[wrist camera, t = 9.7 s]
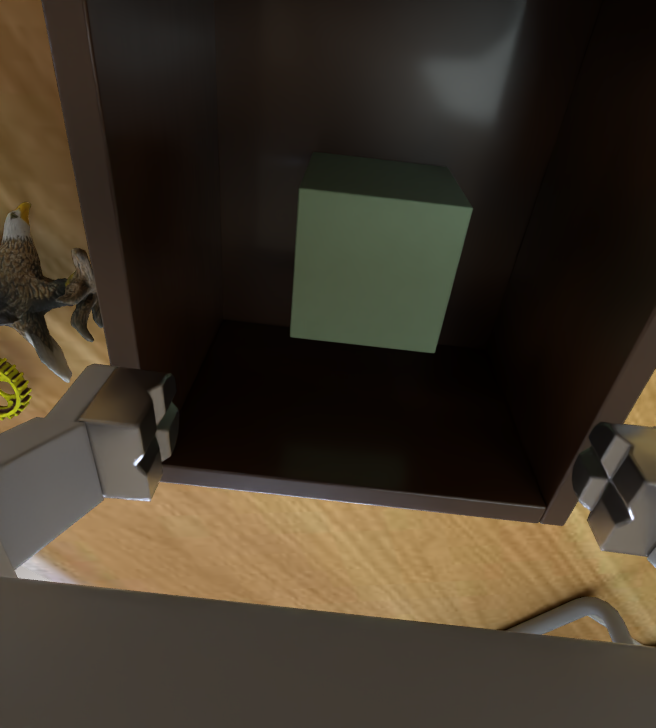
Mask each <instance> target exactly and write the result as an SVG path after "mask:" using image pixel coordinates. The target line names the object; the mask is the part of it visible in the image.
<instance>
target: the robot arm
mask: <svg viewBox="0 0 656 728" xmlns="http://www.w3.org/2000/svg"><path fill="white" fill-rule="evenodd" d="M176 392H177V390H176V383H175V377H174V376H173V375H172V374H171V373H164V372H157V371H149V370H142V369H134V368H127V367H117V366H109V365H101V364H92V365H89V366H87V367H86V368H85V369H84V371H83V372H82V373H81V374H80V376H79V377H78V378H77V379H76V380H75V382H74V383H73V384H72V385H71V387H70V388H69V389H68V390H67V391H66V393H65V394H64V395H63V396H62V398H61V399H60V400H59V401H58V402H57V404H56V405H55V406H54V407H53V409H52V410H51V411H50V412H49V413H48V415H47V416H46V417H45V418H40V417H36V418H33V419H31V420H29V421H27V422H25V423H22V424H20V425H18V426H16V427H14V428H12V429H9V430H7V431H5V432H3V433H1V434H0V728H656V647H652V646H643V645H633V644H624V643H614V642H605V641H595V640H586V639H577V638H567V637H558V636H548V635H539V634H529V633H520V632H511V631H501V630H492V629H483V628H473V627H464V626H455V625H446V624H437V623H427V622H418V621H409V620H400V619H391V618H381V617H372V616H363V615H354V614H345V613H335V612H326V611H317V610H308V609H298V608H289V607H280V606H271V605H261V604H252V603H243V602H233V601H224V600H215V599H206V598H196V597H187V596H178V595H168V594H159V593H150V592H141V591H131V590H122V589H113V588H103V587H94V586H85V585H76V584H66V583H57V582H48V581H38V580H29V579H19V578H18V577H17V575H16V573H15V571H14V570H15V569H17V568H18V567H19V566H21V565H22V564H23V563H24V562H26V561H27V560H28V559H29V558H31V557H32V556H33V555H35V554H36V553H37V552H38V551H40V550H41V549H42V548H43V547H45V546H46V545H47V544H49V543H50V542H51V541H52V540H54V539H55V538H56V537H57V536H59V535H60V534H61V533H63V532H64V531H65V530H66V529H68V528H69V527H70V526H71V525H73V524H74V523H75V522H76V521H78V520H79V519H80V518H82V517H83V516H84V515H85V514H87V513H88V512H89V511H90V510H92V509H93V508H94V507H96V506H97V505H98V504H99V503H101V502H102V501H103V500H104V498H117V499H129V500H141V501H151V499H152V497H153V495H154V493H155V490H156V488H157V486H158V484H159V482H160V479H161V477H162V475H163V469H162V462H163V461H164V460H166V459H167V458H169V457H170V456H171V455H172V452H173V450H174V447H175V445H176V441H177V436H178V432H179V409H178V408H177V407H176V406H175V405H174V404H173V402H172V400H173V398H174V396H175V394H176ZM588 438H589V441H590V444H591V446H590V447H589V448H587V449H585V450H584V451H582V452H581V453H579V454H578V456H577V459H576V461H575V463H574V465H573V470H572V485H573V490H574V492H575V495H576V497H577V499H578V501H579V502H580V503H581V504H582V505H584V506H585V507H586V508H587V509H588V510H590V511H591V512H590V514H589V516H588V519H587V521H588V523H589V526H590V528H591V530H592V532H593V534H594V536H595V539H596V541H597V543H598V545H599V547H600V549H601V551H609V552H616V553H623V554H631V555H638V556H645V557H648V558H647V560H648V561H649V562H650V563H651V564H652V565H653V566H654V567H655V568H656V427H655V426H654V427H647V426H637V425H628V424H619V423H609V422H599V423H598V424H597V425H595V426H594V427H593V429H592V431H591V432H590V434H589V436H588ZM103 497H104V498H103Z"/></svg>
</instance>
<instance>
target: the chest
mask: <svg viewBox="0 0 656 728" xmlns="http://www.w3.org/2000/svg"><path fill="white" fill-rule="evenodd" d="M41 1H42V7H43V12H44V17H45V22H46V28H47V33H48V38H49V43H50V49H51V54H52V59H53V65H54V70H55V75H56V80H57V86H58V91H59V96H60V101H61V107H62V112H63V117H64V122H65V128H66V133H67V138H68V143H69V149H70V154H71V159H72V165H73V170H74V175H75V180H76V186H77V191H78V196H79V201H80V207H81V212H82V217H83V222H84V228H85V233H86V238H87V243H88V249H89V254H90V259H91V265H92V270H93V275H94V280H95V286H96V291H97V296H98V301H99V307H100V312H101V317H102V322H103V328H104V333H105V338H106V344H107V349H108V354H109V359H110V365H111V366H117V367H127V368H134V369H142V370H149V371H157V372H164V373H171V374H172V375H173V376H174V377H175V383H176V390H177V392H176V394H175V396H174V398H173V400H172V402H173V404H174V405H175V406H176V407H177V408H178V409H179V432H178V436H177V441H176V445H175V447H174V450H173V452H172V455H171V456H170V457H169V458H167V459H166V460H164V461H163V462H162V469H163V475H162V477H161V479H160V482H166V483H176V484H185V485H194V486H203V487H212V488H221V489H230V490H239V491H248V492H257V493H266V494H275V495H285V496H294V497H303V498H312V499H321V500H330V501H339V502H348V503H357V504H366V505H375V506H384V507H394V508H403V509H412V510H421V511H430V512H439V513H448V514H457V515H466V516H475V517H484V518H494V519H503V520H512V521H521V522H530V523H539V522H540V523H542V524H549V525H558V526H563V525H564V524H565V523H566V521H567V519H568V518H569V516H570V514H571V512H572V511H573V509H574V507H575V506H576V504H577V502H578V499H577V497H576V495H575V492H574V490H573V485H572V470H573V465H574V463H575V461H576V459H577V456H578V454H579V453H581V452H582V451H584V450H585V449H587V448H589V447H590V446H591V444H590V441H589V438H588V436H589V434H590V432H591V431H592V429H593V427H594V426H595V425H597V424H598V423H599V422H609V423H619V424H623V423H624V422H625V420H626V418H627V416H628V415H629V413H630V411H631V410H632V408H633V406H634V405H635V403H636V401H637V399H638V398H639V396H640V394H641V393H642V391H643V389H644V387H645V386H646V384H647V382H648V381H649V379H650V377H651V375H652V374H653V372H654V370H655V369H656V0H41ZM313 152H320V153H329V154H338V155H346V156H355V157H364V158H372V159H381V160H390V161H398V162H407V163H416V164H424V165H433V166H442V167H447V168H448V169H449V170H450V172H451V174H452V175H453V177H454V178H455V180H456V182H457V183H458V185H459V187H460V188H461V190H462V191H463V193H464V195H465V196H466V198H467V199H468V201H469V203H470V204H471V206H472V207H473V210H472V214H471V218H470V222H469V226H468V229H467V233H466V237H465V241H464V245H463V248H462V252H461V256H460V260H459V263H458V267H457V271H456V275H455V279H454V282H453V286H452V290H451V294H450V298H449V301H448V305H447V309H446V313H445V317H444V320H443V324H442V328H441V332H440V335H439V339H438V343H437V347H436V351H435V353H427V352H418V351H409V350H400V349H391V348H382V347H374V346H365V345H356V344H347V343H338V342H329V341H320V340H311V339H302V338H293V337H290V322H291V305H292V289H293V272H294V256H295V239H296V223H297V206H298V190H299V187H300V184H301V182H302V179H303V177H304V174H305V172H306V169H307V167H308V164H309V161H310V159H311V156H312V154H313Z"/></svg>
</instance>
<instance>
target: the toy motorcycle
mask: <svg viewBox="0 0 656 728" xmlns="http://www.w3.org/2000/svg"><path fill="white" fill-rule="evenodd" d="M6 360H7V359H6V358H4V359H1V358H0V381H5V382H9V384H10V385H11V386H12V388H13V390H14V392H15V394H11V395H10V394H7V393H5V392H3V391H2V390H1V389H0V395H1V396H3V397H4V398H5V399H6V400H7V402H8V406H0V420H3V419H4V418H5V417H8V418H9V419H11V418H12V417H13V416H14V415H15V416H18V415H19V414H20V413H21V412H22V411H23V410H24V409H25V407H26V406H27V405H28V404H29V403H30V402H28V401H29V400H30V399H31V398H32V396H30V395H28V394H29V393H30V392H31V391H32V390H31V388H28V387H27V384H28V383H29V381H28V380H24V378H23V376H22V375H23V372H21V373H19V372H18V370H17V369H15V367H16V365H13V366H12V365H11V364H10V363H8V362H6Z"/></svg>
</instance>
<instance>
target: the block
mask: <svg viewBox="0 0 656 728" xmlns="http://www.w3.org/2000/svg"><path fill="white" fill-rule="evenodd" d="M472 210H473V207H472V206H471V204H470V203H469V201H468V199H467V198H466V196H465V195H464V193H463V191H462V190H461V188H460V187H459V185H458V183H457V182H456V180H455V178H454V177H453V175H452V174H451V172H450V170H449V169H448V168H447V167H442V166H433V165H424V164H416V163H407V162H398V161H390V160H381V159H372V158H364V157H355V156H346V155H338V154H329V153H320V152H313V154H312V156H311V159H310V161H309V164H308V167H307V169H306V172H305V174H304V177H303V179H302V182H301V184H300V187H299V190H298V206H297V223H296V239H295V256H294V272H293V289H292V305H291V322H290V337H293V338H302V339H311V340H320V341H329V342H338V343H347V344H356V345H365V346H374V347H382V348H391V349H400V350H409V351H418V352H427V353H435V351H436V347H437V343H438V339H439V335H440V332H441V328H442V324H443V320H444V317H445V313H446V309H447V305H448V301H449V298H450V294H451V290H452V286H453V282H454V279H455V275H456V271H457V267H458V263H459V260H460V256H461V252H462V248H463V245H464V241H465V237H466V233H467V229H468V226H469V222H470V218H471V214H472Z"/></svg>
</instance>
